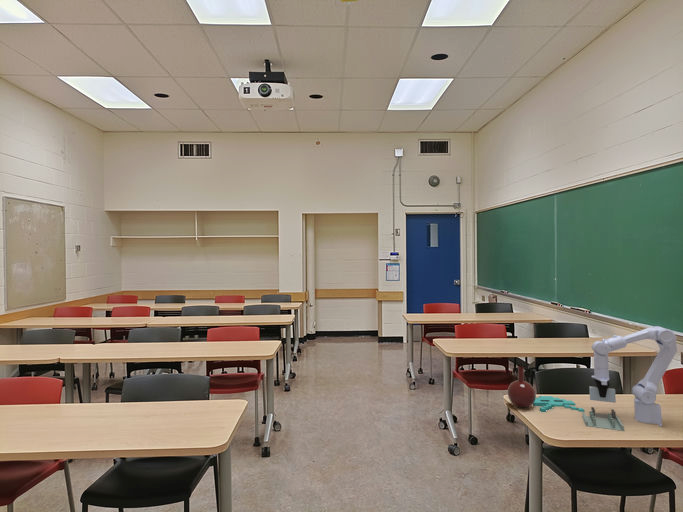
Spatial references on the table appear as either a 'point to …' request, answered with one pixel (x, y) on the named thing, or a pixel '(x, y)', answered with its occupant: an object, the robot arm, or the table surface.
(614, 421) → the rack
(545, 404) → the teal pixel shape
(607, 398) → the long pale grey plank
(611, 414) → the stand
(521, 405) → the round-bottom flask
